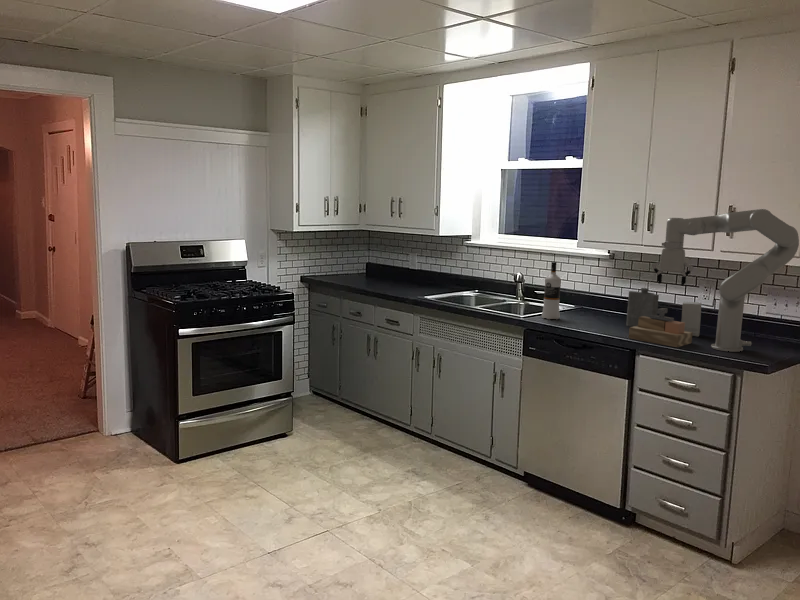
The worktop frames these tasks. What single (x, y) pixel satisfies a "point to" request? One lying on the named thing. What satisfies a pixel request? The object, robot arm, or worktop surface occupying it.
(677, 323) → the cover cap
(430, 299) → the worktop surface
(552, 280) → the vodka
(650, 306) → the hip flask
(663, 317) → the t-key bolt
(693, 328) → the skincare box
